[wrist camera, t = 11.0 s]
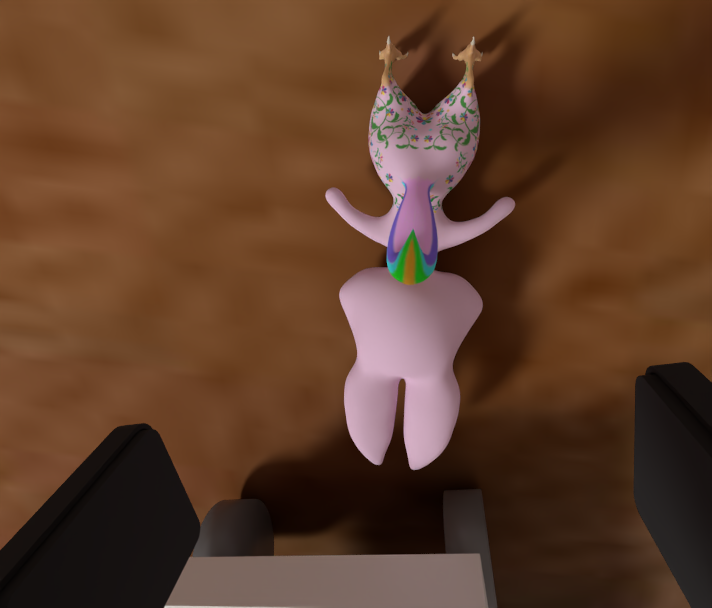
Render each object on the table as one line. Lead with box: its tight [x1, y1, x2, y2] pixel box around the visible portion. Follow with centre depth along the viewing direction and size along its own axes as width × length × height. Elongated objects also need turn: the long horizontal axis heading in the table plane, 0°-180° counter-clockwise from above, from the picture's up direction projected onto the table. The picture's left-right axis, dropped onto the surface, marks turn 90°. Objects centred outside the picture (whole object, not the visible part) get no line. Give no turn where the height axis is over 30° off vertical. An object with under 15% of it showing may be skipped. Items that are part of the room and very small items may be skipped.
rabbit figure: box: [326, 36, 515, 470], centre depth 15 cm, size 6×6×15 cm
